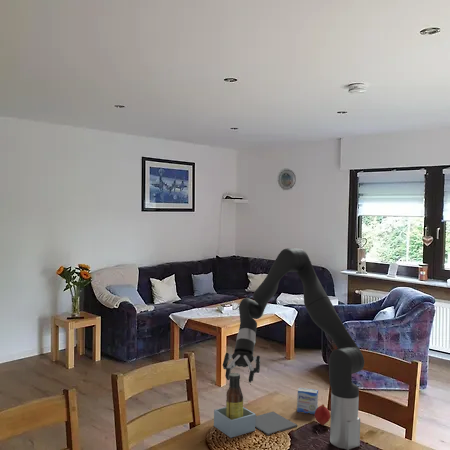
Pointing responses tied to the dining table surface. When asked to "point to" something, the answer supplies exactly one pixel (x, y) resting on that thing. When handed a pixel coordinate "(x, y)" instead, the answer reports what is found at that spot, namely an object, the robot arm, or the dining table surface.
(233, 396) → the sauce bottle
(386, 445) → the dining table surface
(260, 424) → the mat
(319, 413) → the onion
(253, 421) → the tub
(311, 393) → the medicine box
